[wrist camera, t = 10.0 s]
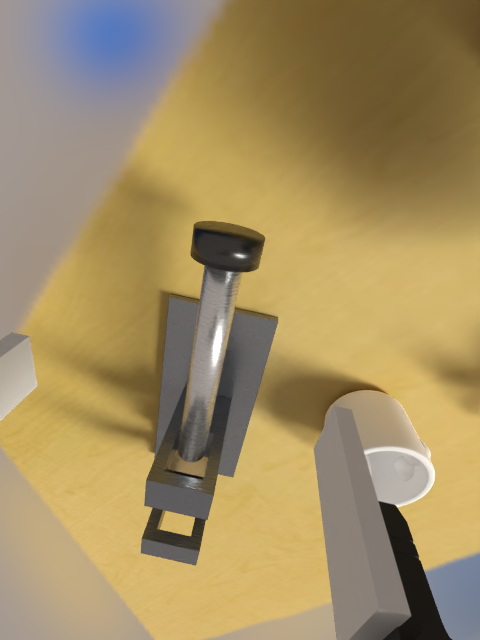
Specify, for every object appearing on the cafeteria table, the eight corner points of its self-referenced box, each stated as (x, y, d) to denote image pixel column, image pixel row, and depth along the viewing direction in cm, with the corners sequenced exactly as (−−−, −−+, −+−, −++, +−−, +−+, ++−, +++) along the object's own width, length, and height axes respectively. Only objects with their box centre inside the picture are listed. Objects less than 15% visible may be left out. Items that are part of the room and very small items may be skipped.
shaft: (202, 217, 24) (185, 231, 19) (266, 231, 24) (263, 248, 19) (175, 426, 35) (160, 466, 30) (218, 436, 35) (210, 477, 30)
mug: (385, 459, 43) (410, 529, 35) (310, 446, 43) (318, 512, 35) (420, 393, 37) (460, 458, 29) (334, 378, 37) (350, 438, 29)
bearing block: (172, 293, 34) (114, 368, 22) (278, 317, 34) (278, 404, 22) (156, 453, 47) (115, 556, 35) (233, 471, 47) (218, 579, 35)
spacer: (181, 413, 41) (168, 447, 36) (224, 422, 41) (217, 458, 36) (178, 433, 43) (166, 468, 38) (219, 442, 43) (212, 479, 38)
